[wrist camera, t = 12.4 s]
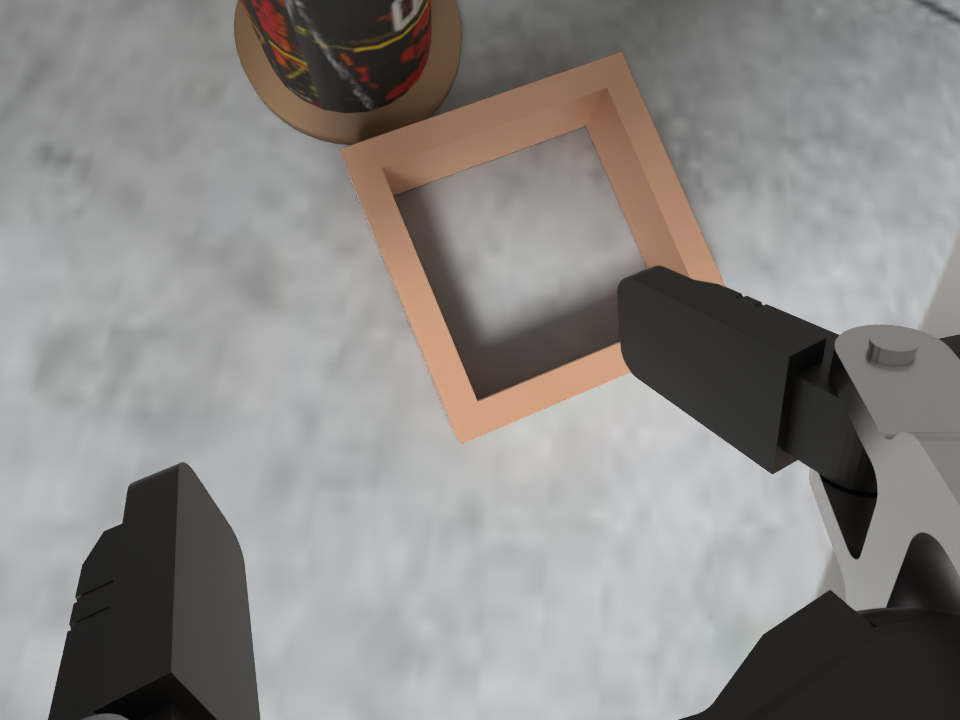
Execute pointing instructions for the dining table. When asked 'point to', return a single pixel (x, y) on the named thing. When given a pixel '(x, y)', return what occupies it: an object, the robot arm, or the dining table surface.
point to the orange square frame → (500, 131)
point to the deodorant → (344, 48)
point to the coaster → (363, 124)
